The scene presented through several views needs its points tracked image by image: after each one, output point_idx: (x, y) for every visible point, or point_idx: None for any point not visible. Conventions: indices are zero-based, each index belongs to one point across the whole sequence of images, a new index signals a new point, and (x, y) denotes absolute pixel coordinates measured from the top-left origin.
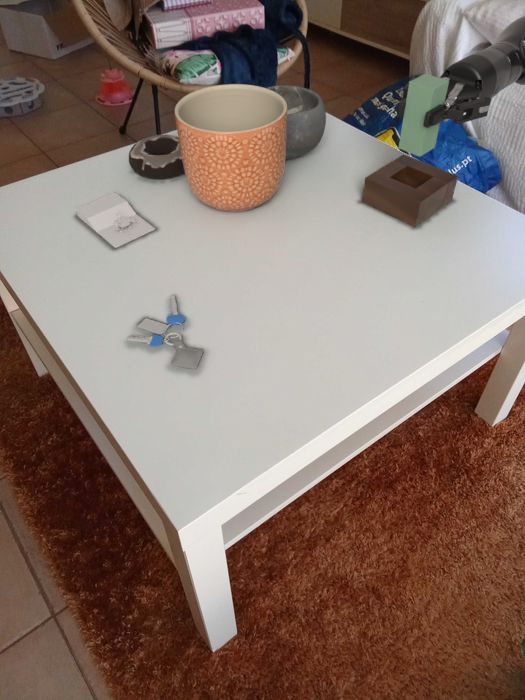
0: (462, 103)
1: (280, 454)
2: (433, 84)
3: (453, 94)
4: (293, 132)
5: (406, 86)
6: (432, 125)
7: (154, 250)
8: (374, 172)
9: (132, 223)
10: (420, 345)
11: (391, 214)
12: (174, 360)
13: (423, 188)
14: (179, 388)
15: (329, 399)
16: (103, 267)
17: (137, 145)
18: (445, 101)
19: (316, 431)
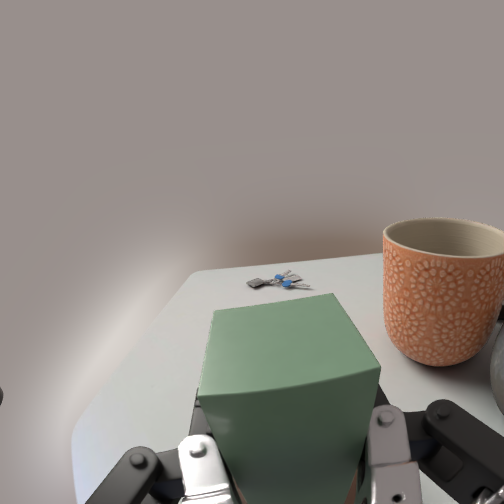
0: (141, 478)
1: (178, 291)
2: (242, 331)
3: (205, 500)
4: (498, 350)
5: (457, 411)
6: None
7: (371, 290)
8: None
9: None
10: (138, 356)
11: None
12: (258, 278)
13: (242, 495)
14: (243, 280)
15: (173, 310)
16: (365, 273)
17: None
18: (218, 456)
19: (169, 301)
